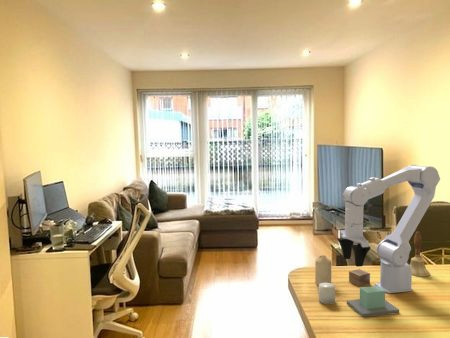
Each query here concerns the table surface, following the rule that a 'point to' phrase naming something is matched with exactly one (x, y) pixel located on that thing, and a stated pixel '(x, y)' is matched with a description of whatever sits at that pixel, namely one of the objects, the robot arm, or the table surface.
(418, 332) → the table surface
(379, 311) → the slate board
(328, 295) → the grey cylinder
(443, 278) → the table surface
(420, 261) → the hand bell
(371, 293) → the teal brick
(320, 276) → the candle
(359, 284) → the walnut block
